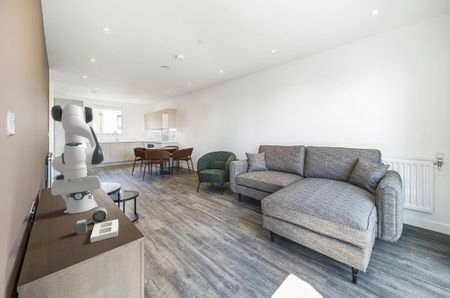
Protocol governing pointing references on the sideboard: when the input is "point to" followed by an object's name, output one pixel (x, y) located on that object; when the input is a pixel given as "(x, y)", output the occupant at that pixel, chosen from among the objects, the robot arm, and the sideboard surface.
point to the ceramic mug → (98, 216)
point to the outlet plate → (104, 230)
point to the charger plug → (81, 227)
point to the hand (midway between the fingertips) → (79, 200)
